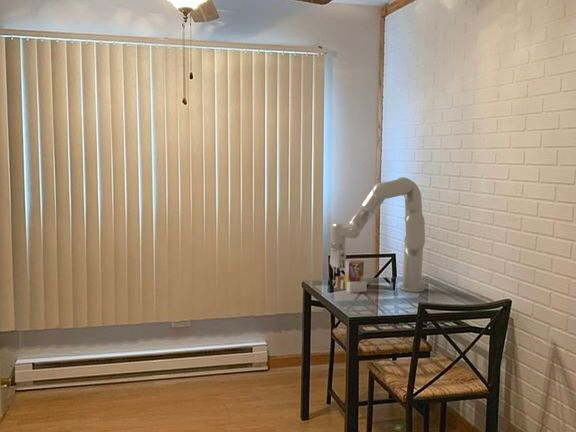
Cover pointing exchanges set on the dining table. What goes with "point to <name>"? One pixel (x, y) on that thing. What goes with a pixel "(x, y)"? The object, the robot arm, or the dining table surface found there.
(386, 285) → the dining table surface
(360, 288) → the vise base
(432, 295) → the dining table surface
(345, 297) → the dining table surface
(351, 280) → the candy box
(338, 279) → the sliding jaw
